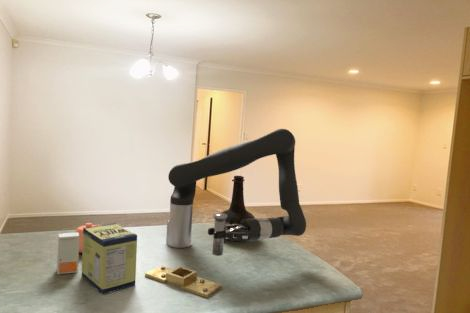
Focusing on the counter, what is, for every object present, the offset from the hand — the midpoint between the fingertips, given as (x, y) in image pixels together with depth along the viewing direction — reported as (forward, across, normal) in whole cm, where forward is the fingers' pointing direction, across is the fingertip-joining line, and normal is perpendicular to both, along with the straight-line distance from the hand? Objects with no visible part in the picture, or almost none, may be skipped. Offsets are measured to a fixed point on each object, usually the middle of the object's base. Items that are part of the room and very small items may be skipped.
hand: (211, 233), depth 113 cm
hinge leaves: (+9, -1, +15) cm, 17 cm away
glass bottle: (-31, -34, +15) cm, 48 cm away
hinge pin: (-3, 0, +7) cm, 8 cm away
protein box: (+29, -10, +15) cm, 34 cm away
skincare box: (+39, -21, +16) cm, 47 cm away
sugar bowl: (+30, -39, +16) cm, 52 cm away
